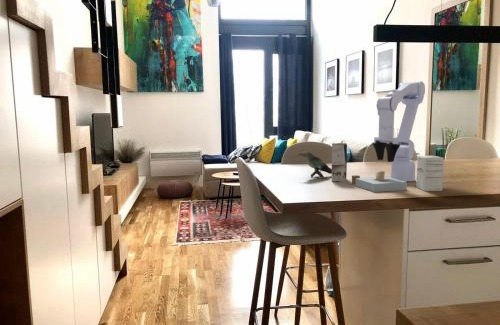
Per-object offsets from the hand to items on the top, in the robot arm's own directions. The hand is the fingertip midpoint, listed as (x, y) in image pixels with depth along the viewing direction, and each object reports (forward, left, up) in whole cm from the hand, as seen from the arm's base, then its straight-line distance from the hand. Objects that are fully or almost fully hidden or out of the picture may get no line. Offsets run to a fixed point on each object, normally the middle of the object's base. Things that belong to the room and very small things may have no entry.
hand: (385, 160), depth 169 cm
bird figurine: (+17, -28, -10) cm, 34 cm away
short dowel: (+10, -5, -10) cm, 15 cm away
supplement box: (-11, +13, -10) cm, 20 cm away
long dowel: (+5, +5, -10) cm, 12 cm away
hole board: (+5, +5, -10) cm, 12 cm away
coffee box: (+12, -17, -10) cm, 23 cm away
